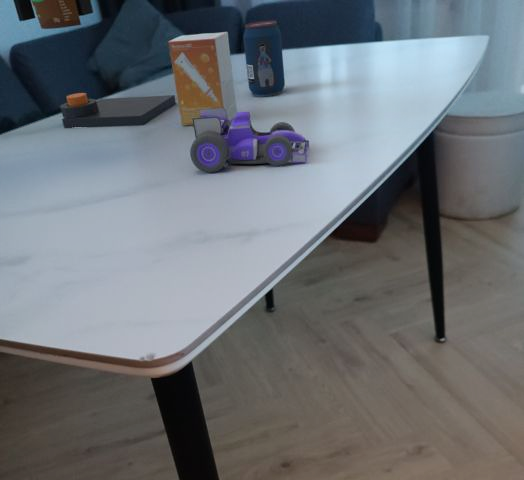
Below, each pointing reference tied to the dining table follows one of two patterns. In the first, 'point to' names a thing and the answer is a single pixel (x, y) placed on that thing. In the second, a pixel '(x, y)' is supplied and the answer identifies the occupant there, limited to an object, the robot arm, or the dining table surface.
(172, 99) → the scale
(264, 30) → the soda can
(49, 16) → the food container
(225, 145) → the toy race car
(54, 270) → the dining table surface
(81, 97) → the button
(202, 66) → the small box
